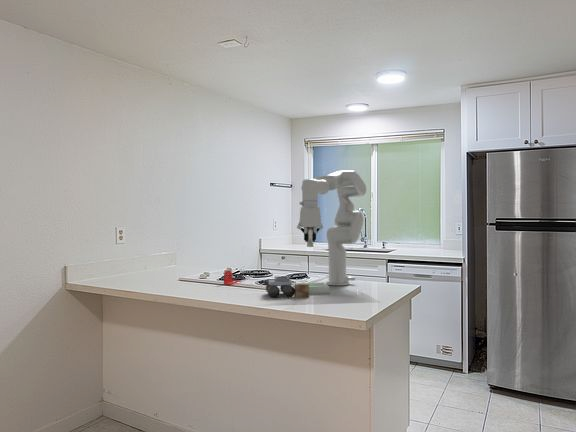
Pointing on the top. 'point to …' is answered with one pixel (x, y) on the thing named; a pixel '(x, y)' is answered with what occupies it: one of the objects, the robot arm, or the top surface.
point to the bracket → (229, 280)
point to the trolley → (285, 287)
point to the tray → (317, 288)
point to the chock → (301, 290)
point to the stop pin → (310, 236)
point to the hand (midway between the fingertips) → (310, 241)
